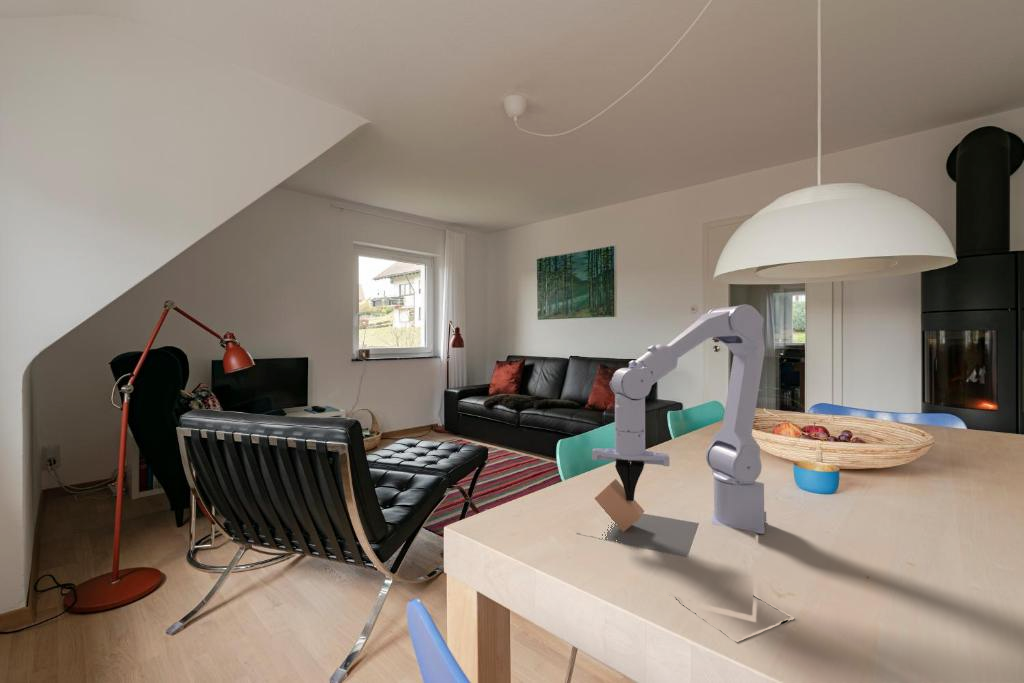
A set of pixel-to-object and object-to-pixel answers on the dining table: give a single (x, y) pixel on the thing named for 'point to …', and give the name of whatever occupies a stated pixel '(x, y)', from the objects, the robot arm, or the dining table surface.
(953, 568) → the dining table surface
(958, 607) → the dining table surface
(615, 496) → the terracotta block
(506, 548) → the dining table surface
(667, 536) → the charcoal mat
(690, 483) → the dining table surface
